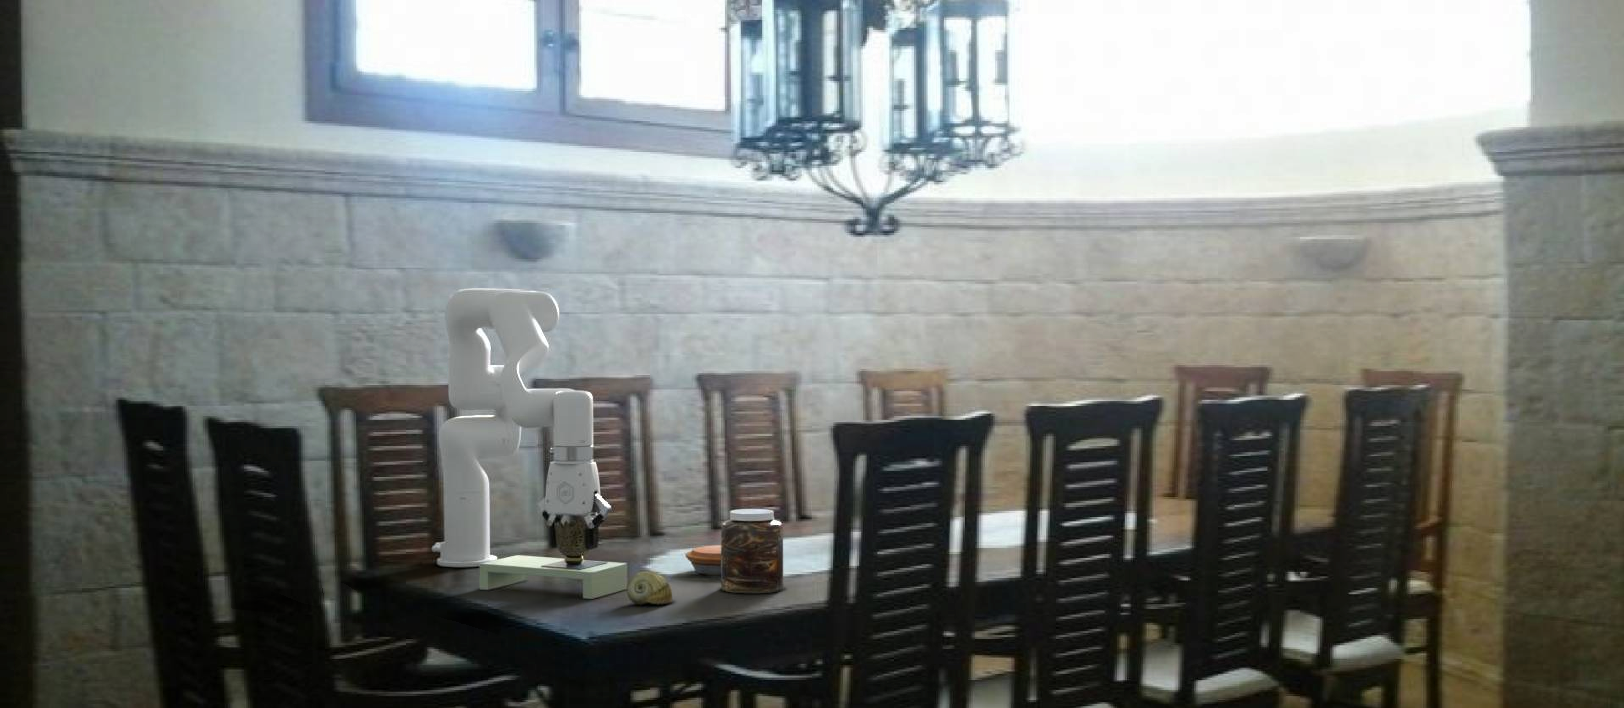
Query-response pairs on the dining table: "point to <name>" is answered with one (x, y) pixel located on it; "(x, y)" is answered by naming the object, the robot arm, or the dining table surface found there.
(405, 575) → the dining table surface
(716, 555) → the pie
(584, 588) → the shelf
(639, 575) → the seashell
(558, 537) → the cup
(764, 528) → the jar
